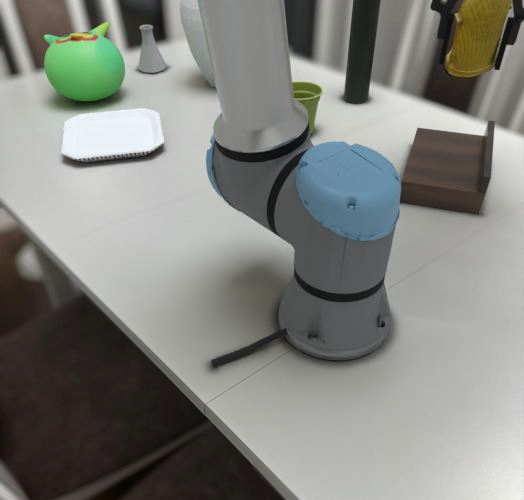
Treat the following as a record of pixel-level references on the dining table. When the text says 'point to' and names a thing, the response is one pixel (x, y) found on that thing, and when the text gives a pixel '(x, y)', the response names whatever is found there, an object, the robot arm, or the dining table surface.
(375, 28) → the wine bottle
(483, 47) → the yellow curved piece
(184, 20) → the vase
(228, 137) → the robot arm
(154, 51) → the flask
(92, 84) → the toy bird
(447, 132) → the brown boxy piece
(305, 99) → the plant pot
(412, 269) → the dining table surface
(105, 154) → the plate
